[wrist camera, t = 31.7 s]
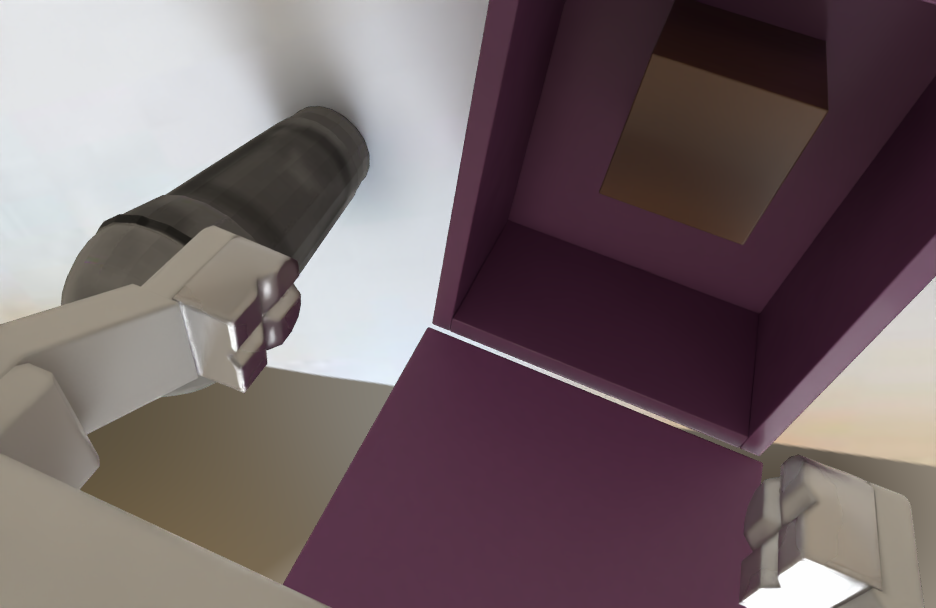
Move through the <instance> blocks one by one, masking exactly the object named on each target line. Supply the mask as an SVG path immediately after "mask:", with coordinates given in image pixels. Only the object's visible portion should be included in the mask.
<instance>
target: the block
mask: <svg viewBox="0 0 936 608" xmlns="http://www.w3.org/2000/svg"><path fill="white" fill-rule="evenodd" d="M828 111H829V106H828V78H827V49H826V41H823V40H820V39H816V38H813V37H810V36H807V35H804V34H800V33H797V32H794V31H791V30H787V29H784V28H781V27H778V26H775V25H771V24H768V23H765V22H762V21H758V20H755V19H752V18H749V17H746V16H742V15H739V14H736V13H733V12H729V11H726V10H723V9H720V8H716V7H713V6H710V5H707V4H704V3H700V2H697V1H694V0H675V1H674V3H673V6H672V8H671V10H670V12H669V15H668V17H667V19H666V22H665V24H664V26H663V29H662V31H661V33H660V36H659V38H658V40H657V43H656V45H655V47H654V50H653V52H652V54H651V57H650V59H649V62H648V65H647V67H646V70H645V72H644V75H643V78H642V80H641V83H640V86H639V88H638V91H637V93H636V96H635V99H634V101H633V104H632V106H631V109H630V112H629V114H628V117H627V120H626V122H625V125H624V127H623V130H622V133H621V135H620V138H619V141H618V143H617V146H616V148H615V151H614V154H613V156H612V159H611V161H610V164H609V167H608V169H607V172H606V175H605V177H604V180H603V182H602V185H601V188H600V190H599V193H600V194H602V195H605V196H607V197H610V198H613V199H616V200H618V201H621V202H624V203H627V204H630V205H632V206H635V207H638V208H641V209H643V210H646V211H649V212H652V213H655V214H657V215H660V216H663V217H666V218H668V219H671V220H674V221H677V222H679V223H682V224H685V225H688V226H691V227H693V228H696V229H699V230H702V231H704V232H707V233H710V234H713V235H716V236H718V237H721V238H724V239H727V240H729V241H732V242H735V243H738V244H741V245H744V244H745V242H746V240H747V239H748V237H749V236H750V234H751V233H752V231H753V229H754V228H755V226H756V225H757V223H758V222H759V220H760V218H761V217H762V215H763V214H764V212H765V211H766V209H767V207H768V206H769V204H770V203H771V201H772V200H773V198H774V196H775V195H776V193H777V192H778V190H779V189H780V187H781V185H782V184H783V182H784V181H785V179H786V178H787V176H788V174H789V173H790V171H791V170H792V168H793V167H794V165H795V163H796V162H797V160H798V159H799V157H800V156H801V154H802V152H803V151H804V149H805V148H806V146H807V145H808V143H809V141H810V140H811V138H812V137H813V135H814V134H815V132H816V130H817V129H818V127H819V126H820V124H821V123H822V121H823V119H824V118H825V116H826V115H827V113H828Z"/></svg>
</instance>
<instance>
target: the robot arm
mask: <svg viewBox="0 0 936 608" xmlns="http://www.w3.org/2000/svg"><path fill="white" fill-rule="evenodd" d="M298 276H299V267H298V261H297V260H295V259H293V258H291V257H288V256H286V255H284V254H281V253H279V252H277V251H274V250H272V249H269V248H267V247H265V246H262V245H260V244H258V243H255V242H253V241H251V240H248V239H246V238H243V237H241V236H238V235H236V234H233V233H231V232H228V231H226V230H223V229H221V228H219V227H216V226H214V225H213V226H210V227H207V228H205V229H203V230H201V231H200V232H199V233H198V234H197V235H196V236H195V237H194V238H193V239H192V240H191V241H189V242H188V243H187V244H186V245H185V246H184V247H183V248H182V249H181V250H180V251H179V252H178V253H177V254H175V255H174V256H173V257H172V258H171V259H170V260H169V261H168V262H167V263H166V264H165V265H164V266H163V267H161V268H160V269H159V270H158V271H157V272H156V273H155V274H154V275H153V276H152V277H151V278H150V279H148V280H147V281H146V282H145V283H144V284H143V285H142V286H141V287H140V286H138V285H135V284H130V285H127V286H123V287H120V288H117V289H114V290H111V291H107V292H104V293H101V294H98V295H94V296H91V297H88V298H85V299H81V300H78V301H75V302H72V303H68V304H65V305H62V306H59V307H55V308H52V309H49V310H46V311H42V312H39V313H36V314H33V315H29V316H26V317H23V318H20V319H16V320H13V321H10V322H7V323H4V324H0V608H332V607H329V606H327V605H325V604H323V603H321V602H319V601H317V600H314V599H312V598H310V597H308V596H306V595H304V594H301V593H299V592H297V591H295V590H293V589H291V588H289V587H286V586H284V585H282V584H280V583H278V582H276V581H274V580H271V579H269V578H267V577H265V576H262V575H261V574H259V573H256V572H254V571H252V570H250V569H248V568H246V567H244V566H241V565H239V564H237V563H235V562H233V561H231V560H228V559H226V558H224V557H222V556H220V555H218V554H216V553H213V552H211V551H209V550H207V549H205V548H203V547H201V546H199V545H196V544H194V543H192V542H190V541H188V540H186V539H184V538H181V537H179V536H177V535H175V534H173V533H171V532H169V531H166V530H164V529H162V528H160V527H158V526H156V525H154V524H151V523H149V522H147V521H145V520H143V519H141V518H139V517H136V516H134V515H132V514H130V513H128V512H126V511H124V510H121V509H119V508H117V507H115V506H113V505H111V504H108V503H106V502H104V501H102V500H100V499H98V498H96V497H93V496H91V495H89V494H87V493H85V492H83V491H81V490H80V488H81V487H82V486H83V485H84V484H85V483H86V481H87V480H88V479H89V478H90V477H91V476H92V474H93V473H94V472H95V471H96V470H97V469H98V467H99V465H100V464H99V456H98V454H97V453H96V451H95V449H94V447H93V445H92V444H91V442H90V440H89V438H88V437H87V434H88V433H90V432H93V431H94V430H96V429H98V428H100V427H102V426H104V425H106V424H108V423H110V422H112V421H114V420H116V419H118V418H120V417H122V416H124V415H126V414H128V413H130V412H132V411H134V410H136V409H138V408H140V407H142V406H144V405H146V404H148V403H150V402H151V401H154V400H156V399H157V398H160V397H161V396H163V395H165V394H167V393H169V392H171V391H173V390H175V389H177V388H179V387H181V386H183V385H185V384H187V383H189V382H191V381H193V380H195V379H197V378H198V375H200V376H203V377H205V378H208V379H210V380H213V381H215V382H218V383H221V384H223V385H226V386H228V387H231V388H233V389H236V390H238V391H241V392H243V393H245V391H246V390H247V389H248V388H249V386H250V385H251V384H252V382H253V381H254V380H255V379H256V377H257V376H258V375H259V373H260V372H261V371H262V370H263V368H264V367H265V366H266V365H267V352H266V350H269V349H271V348H274V347H277V346H279V345H282V344H283V342H284V341H285V340H286V338H287V337H288V336H289V334H290V333H291V332H292V329H293V327H294V325H295V323H296V321H297V318H298V316H299V311H300V306H301V294H300V292H299V291H298V290H297V288H296V287H295V285H294V284H293V283H294V281H295V280H296V279H297V278H298ZM744 536H745V538H746V540H747V542H748V544H749V546H750V548H751V550H752V551H753V552H752V553H751V554H750V555H749V556H748V557H746V558H745V559H744V560H743V561H742V564H741V580H740V596H739V604H741V605H743V606H745V607H747V608H925V607H924V600H923V593H922V585H921V578H920V570H919V563H918V556H917V549H916V542H915V534H914V526H913V519H912V512H911V505H910V503H909V501H908V500H907V498H906V496H904V495H901V494H898V493H896V492H893V491H891V490H888V489H886V488H883V487H880V486H878V485H875V484H873V483H870V482H866V481H865V480H864V479H862V478H859V477H856V476H854V475H851V474H848V473H846V472H843V471H840V470H838V469H835V468H832V467H830V466H827V465H825V464H822V463H819V462H817V461H814V460H811V459H809V458H806V457H803V456H801V455H795V456H791V457H790V458H788V459H787V460H786V461H785V462H784V463H783V464H782V465H781V477H777V478H771V479H766V480H765V481H764V482H763V483H762V484H761V485H760V486H759V487H758V488H757V489H756V490H755V492H754V494H753V496H752V499H751V501H750V503H749V505H748V508H747V512H746V517H745V524H744Z"/></svg>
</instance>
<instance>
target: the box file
mask: <svg viewBox="0 0 936 608" xmlns="http://www.w3.org/2000/svg"><path fill="white" fill-rule="evenodd" d="M674 1H675V0H489V5H488V10H487V16H486V22H485V27H484V33H483V39H482V44H481V50H480V56H479V61H478V67H477V73H476V78H475V84H474V90H473V95H472V101H471V107H470V112H469V118H468V124H467V129H466V135H465V141H464V146H463V152H462V158H461V163H460V169H459V175H458V180H457V186H456V192H455V197H454V203H453V209H452V214H451V220H450V226H449V231H448V237H447V243H446V248H445V254H444V260H443V265H442V271H441V277H440V282H439V288H438V294H437V299H436V305H435V311H434V316H433V322H432V323H433V324H434V325H437V326H439V327H442V328H444V329H447V330H450V331H451V332H454V333H456V334H458V335H461V336H463V337H466V338H468V339H471V340H473V341H476V342H478V343H481V344H483V345H486V346H488V347H491V348H493V349H496V350H498V351H500V352H503V353H505V354H508V355H510V356H513V357H515V358H518V359H520V360H523V361H525V362H528V363H530V364H533V365H535V366H537V367H540V368H542V369H545V370H547V371H550V372H552V373H555V374H557V375H560V376H562V377H565V378H567V379H570V380H572V381H575V382H577V383H579V384H582V385H584V386H587V387H589V388H592V389H594V390H597V391H599V392H602V393H604V394H607V395H609V396H612V397H614V398H616V399H619V400H621V401H624V402H626V403H629V404H631V405H634V406H636V407H639V408H641V409H644V410H646V411H649V412H651V413H654V414H656V415H658V416H661V417H663V418H666V419H668V420H671V421H673V422H676V423H678V424H681V425H683V426H686V427H688V428H691V429H693V430H696V431H698V432H700V433H703V434H705V435H708V436H710V437H713V438H715V439H718V440H720V441H723V442H725V443H728V444H730V445H733V446H735V447H738V448H739V447H740V448H741V449H743V450H745V451H748V452H750V453H753V454H755V455H758V456H760V455H761V454H762V453H763V452H764V451H765V450H766V449H767V448H768V447H769V446H770V445H771V444H772V443H773V442H774V441H775V440H776V439H777V438H778V437H779V436H780V435H781V434H782V433H783V432H784V431H785V430H786V429H787V428H788V427H789V425H790V424H791V423H792V422H793V421H794V420H795V419H796V418H797V417H798V416H799V415H800V414H801V413H802V412H803V411H804V410H805V409H806V408H807V407H808V406H809V405H810V404H811V403H812V402H813V401H814V400H815V399H816V398H817V397H818V396H819V395H820V394H821V393H822V392H823V391H824V390H825V389H826V388H827V387H828V386H829V385H830V384H831V383H832V382H833V381H834V380H835V378H836V377H837V376H838V375H839V374H840V373H841V372H842V371H843V370H844V369H845V368H846V367H847V366H848V365H849V364H850V363H851V362H852V361H853V360H854V359H855V358H856V357H857V356H858V355H859V354H860V353H861V352H862V351H863V350H864V349H865V348H866V347H867V346H868V345H869V344H870V343H871V342H872V341H873V340H874V339H875V338H876V337H877V336H878V335H879V334H880V333H881V331H882V330H883V329H884V328H885V327H886V326H887V325H888V324H889V323H890V322H891V321H892V320H893V319H894V318H895V317H896V316H897V315H898V314H899V313H900V312H901V311H902V310H903V309H904V308H905V307H906V306H907V305H908V304H909V303H910V302H911V301H912V300H913V299H914V298H915V297H916V296H917V295H918V294H919V293H920V292H921V291H922V290H923V289H924V288H925V287H926V286H927V284H928V283H929V282H930V281H931V280H932V279H933V278H934V277H935V276H936V0H694V1H697V2H700V3H704V4H707V5H710V6H713V7H716V8H720V9H723V10H726V11H729V12H733V13H736V14H739V15H742V16H746V17H749V18H752V19H755V20H758V21H762V22H765V23H768V24H771V25H775V26H778V27H781V28H784V29H787V30H791V31H794V32H797V33H800V34H804V35H807V36H810V37H813V38H816V39H820V40H823V41H826V49H827V78H828V106H829V111H828V113H827V115H826V116H825V118H824V119H823V121H822V123H821V124H820V126H819V127H818V129H817V130H816V132H815V134H814V135H813V137H812V138H811V140H810V141H809V143H808V145H807V146H806V148H805V149H804V151H803V152H802V154H801V156H800V157H799V159H798V160H797V162H796V163H795V165H794V167H793V168H792V170H791V171H790V173H789V174H788V176H787V178H786V179H785V181H784V182H783V184H782V185H781V187H780V189H779V190H778V192H777V193H776V195H775V196H774V198H773V200H772V201H771V203H770V204H769V206H768V207H767V209H766V211H765V212H764V214H763V215H762V217H761V218H760V220H759V222H758V223H757V225H756V226H755V228H754V229H753V231H752V233H751V234H750V236H749V237H748V239H747V240H746V242H745V244H744V245H741V244H738V243H735V242H732V241H729V240H727V239H724V238H721V237H718V236H716V235H713V234H710V233H707V232H704V231H702V230H699V229H696V228H693V227H691V226H688V225H685V224H682V223H679V222H677V221H674V220H671V219H668V218H666V217H663V216H660V215H657V214H655V213H652V212H649V211H646V210H643V209H641V208H638V207H635V206H632V205H630V204H627V203H624V202H621V201H618V200H616V199H613V198H610V197H607V196H605V195H602V194H600V193H599V190H600V188H601V185H602V182H603V180H604V177H605V175H606V172H607V169H608V167H609V164H610V161H611V159H612V156H613V154H614V151H615V148H616V146H617V143H618V141H619V138H620V135H621V133H622V130H623V127H624V125H625V122H626V120H627V117H628V114H629V112H630V109H631V106H632V104H633V101H634V99H635V96H636V93H637V91H638V88H639V86H640V83H641V80H642V78H643V75H644V72H645V70H646V67H647V65H648V62H649V59H650V57H651V54H652V52H653V50H654V47H655V45H656V43H657V40H658V38H659V36H660V33H661V31H662V29H663V26H664V24H665V22H666V19H667V17H668V15H669V12H670V10H671V8H672V6H673V3H674Z"/></svg>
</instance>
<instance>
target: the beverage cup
mask: <svg viewBox="0 0 936 608" xmlns="http://www.w3.org/2000/svg"><path fill="white" fill-rule="evenodd" d="M368 169H369V153H368V150H367V147H366V144H365V141H364V139H363V138H362V136H361V135H360V133H359V132H358V130H357V129H356V128H355V127H354V126H353V125H352V124H351V123H350V122H349V121H348V120H347V119H346V118H345V117H343V116H342V115H340V114H338V113H337V112H335V111H333V110H331V109H327V108H324V107H320V106H316V107H307V108H305V109H303V110H301V111H299V112H297V113H296V114H295V115H294V116H292V117H290V118H287V119H285V120H283V121H281V122H279V123H277V124H275V125H274V126H272V127H271V128H269V129H268V130H266V131H264V132H263V133H261V134H260V135H258V136H257V137H255V138H253V139H252V140H250V141H249V142H247V143H246V144H244V145H243V146H241V147H239V148H238V149H236V150H235V151H233V152H232V153H230V154H228V155H227V156H225V157H224V158H222V159H221V160H219V161H218V162H216V163H214V164H213V165H211V166H210V167H208V168H207V169H205V170H203V171H202V172H200V173H199V174H197V175H196V176H194V177H193V178H191V179H189V180H188V181H186V182H185V183H183V184H182V185H180V186H178V187H177V188H175V189H174V190H172V191H171V192H169V193H168V194H166V195H162V196H160V197H158V198H156V199H153V200H151V201H149V202H147V203H145V204H143V205H141V206H139V207H136V208H134V209H132V210H130V211H128V212H126V213H124V214H119V215H117V216H115V217H112V218H110V219H108V220H106V221H104V222H103V223H102V225H101V226H100V228H99V229H98V231H97V233H96V235H95V236H94V237H92V238H91V239H90V240H89V241H88V242H87V244H86V245H85V246H84V247H83V249H82V250H81V251H80V253H79V254H78V256H77V258H76V260H75V262H74V264H73V266H72V268H71V270H70V272H69V274H68V276H67V278H66V281H65V285H64V288H63V292H62V300H61V306H62V305H65V304H68V303H72V302H75V301H78V300H81V299H85V298H88V297H91V296H94V295H98V294H101V293H104V292H107V291H111V290H114V289H117V288H120V287H123V286H127V285H130V284H135V285H138V286H140V287H141V286H142V285H143V284H144V283H145V282H146V281H147V280H148V279H150V278H151V277H152V276H153V275H154V274H155V273H156V272H157V271H158V270H159V269H160V268H161V267H163V266H164V265H165V264H166V263H167V262H168V261H169V260H170V259H171V258H172V257H173V256H174V255H175V254H177V253H178V252H179V251H180V250H181V249H182V248H183V247H184V246H185V245H186V244H187V243H188V242H189V241H191V240H192V239H193V238H194V237H195V236H196V235H197V234H198V233H199V232H200V231H201V230H203V229H205V228H207V227H210V226H213V225H214V226H216V227H219V228H221V229H223V230H226V231H228V232H231V233H233V234H236V235H238V236H241V237H243V238H246V239H248V240H251V241H253V242H255V243H258V244H260V245H262V246H265V247H267V248H269V249H272V250H274V251H277V252H279V253H281V254H284V255H286V256H288V257H291V258H293V259H295V260H297V261H298V267H299V274H300V273H301V271H302V270H303V269H304V267H305V266H306V264H307V263H308V261H309V260H310V259H311V257H312V256H313V254H314V253H315V251H316V250H317V248H318V247H319V246H320V244H321V243H322V241H323V240H324V238H325V237H326V236H327V234H328V233H329V231H330V230H331V228H332V227H333V225H334V224H335V223H336V221H337V220H338V218H339V217H340V215H341V214H342V213H343V211H344V210H345V208H346V207H347V205H348V204H349V202H350V201H351V200H352V198H353V197H354V195H355V192H356V190H357V188H358V187H359V185H360V183H361V181H362V180H363V179H364V178H365V177H366V175H367V172H368ZM294 282H295V281H294ZM213 383H215V381H213V380H210V379H208V378H205V377H203V376H200V375H198V378H197V379H195V380H193V381H191V382H189V383H187V384H185V385H183V386H181V387H179V388H177V389H175V390H173V391H171V392H169V393H167V394H165V395H163V396H161V397H167V396H173V395H180V394H186V393H191V392H194V391H197V390H200V389H203V388H206V387H208V386H210V385H211V384H213Z"/></svg>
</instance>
